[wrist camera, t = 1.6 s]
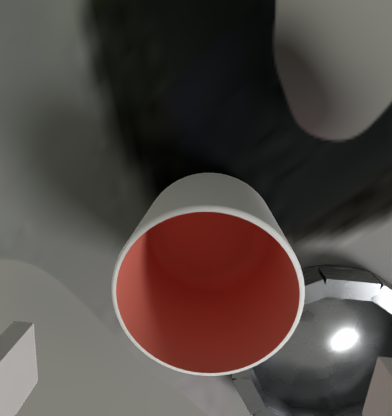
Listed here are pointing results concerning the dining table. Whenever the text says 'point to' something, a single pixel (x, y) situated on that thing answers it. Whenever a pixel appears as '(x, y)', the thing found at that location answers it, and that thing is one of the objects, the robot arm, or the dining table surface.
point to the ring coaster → (325, 348)
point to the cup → (208, 279)
